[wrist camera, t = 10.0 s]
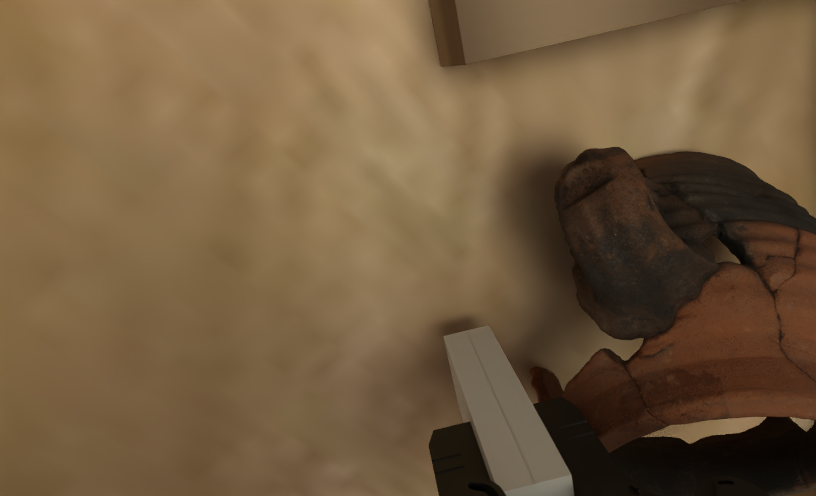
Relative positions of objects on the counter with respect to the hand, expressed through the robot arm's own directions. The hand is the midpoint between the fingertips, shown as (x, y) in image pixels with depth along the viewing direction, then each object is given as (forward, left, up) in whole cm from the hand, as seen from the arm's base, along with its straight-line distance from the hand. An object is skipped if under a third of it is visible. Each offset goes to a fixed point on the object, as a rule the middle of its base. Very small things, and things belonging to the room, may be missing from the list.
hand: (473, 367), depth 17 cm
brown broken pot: (+6, +1, -2) cm, 6 cm away
